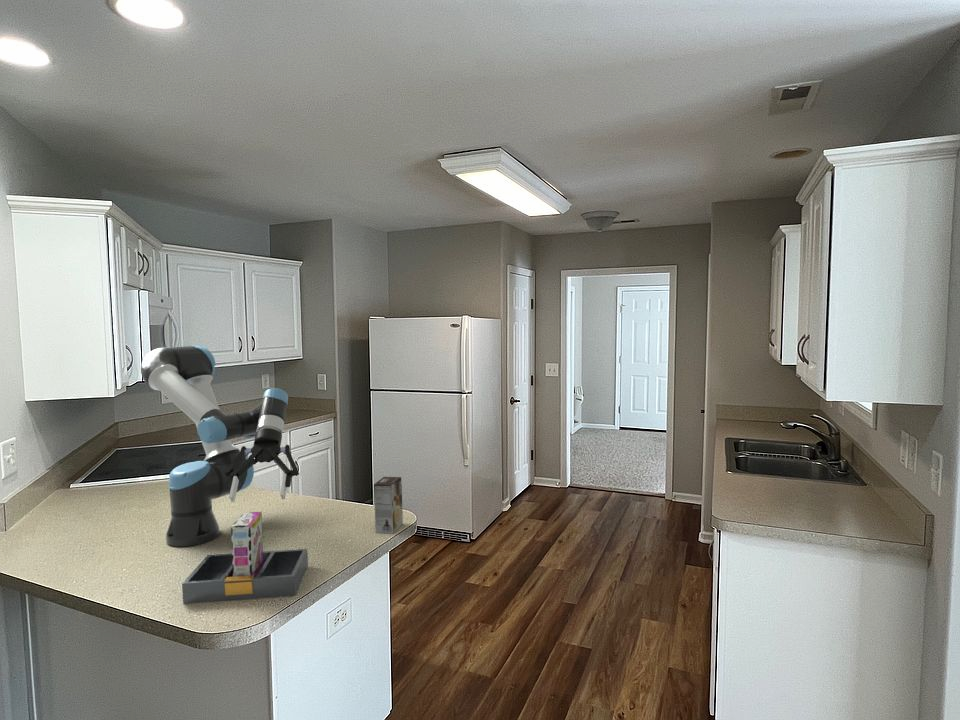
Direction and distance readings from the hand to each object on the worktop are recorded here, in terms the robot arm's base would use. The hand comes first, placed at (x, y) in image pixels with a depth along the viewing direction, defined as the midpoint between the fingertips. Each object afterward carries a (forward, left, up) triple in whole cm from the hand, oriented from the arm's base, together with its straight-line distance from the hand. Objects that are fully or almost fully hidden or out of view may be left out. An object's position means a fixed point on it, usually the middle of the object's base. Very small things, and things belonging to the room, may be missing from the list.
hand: (257, 498), depth 156 cm
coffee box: (+35, +24, -20) cm, 46 cm away
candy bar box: (0, -10, -19) cm, 21 cm away
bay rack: (0, -10, -19) cm, 22 cm away
